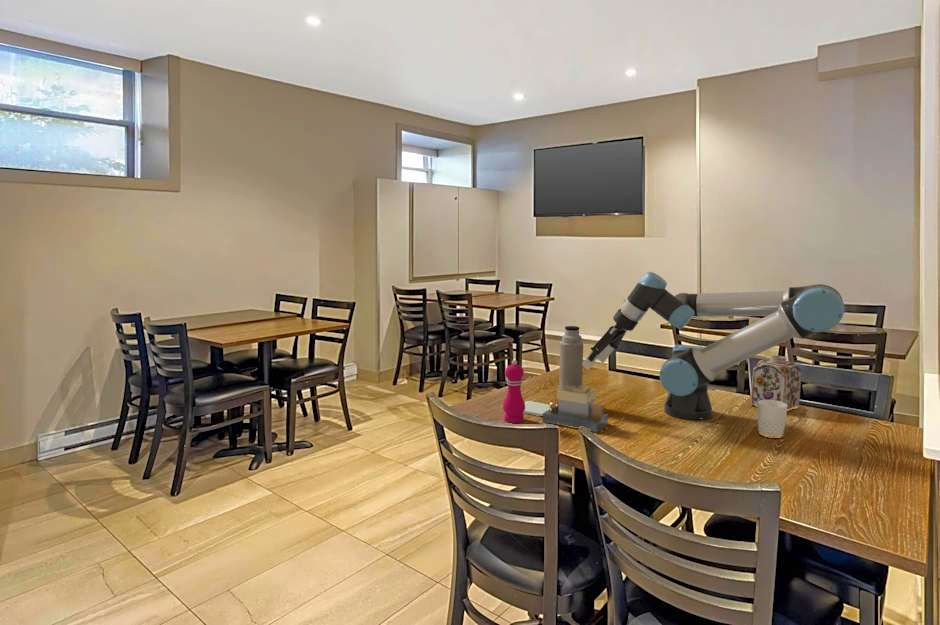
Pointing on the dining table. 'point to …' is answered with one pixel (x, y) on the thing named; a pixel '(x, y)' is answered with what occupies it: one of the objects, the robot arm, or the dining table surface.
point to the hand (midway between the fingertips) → (592, 363)
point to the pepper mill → (514, 394)
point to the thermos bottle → (571, 358)
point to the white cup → (771, 417)
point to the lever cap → (576, 393)
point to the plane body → (577, 415)
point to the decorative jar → (776, 381)
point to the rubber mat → (535, 408)
